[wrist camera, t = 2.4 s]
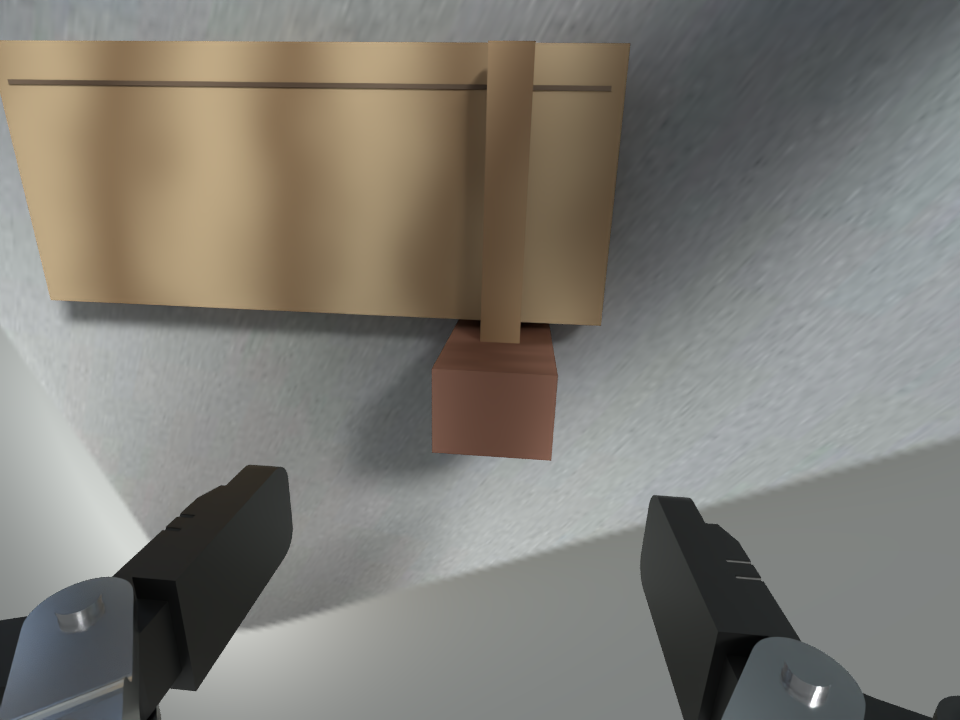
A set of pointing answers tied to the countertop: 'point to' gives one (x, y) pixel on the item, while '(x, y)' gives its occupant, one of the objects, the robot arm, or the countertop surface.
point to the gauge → (500, 298)
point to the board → (307, 173)
